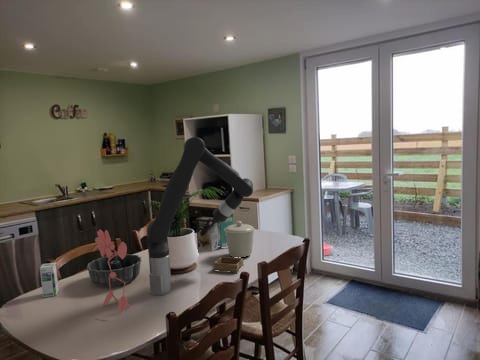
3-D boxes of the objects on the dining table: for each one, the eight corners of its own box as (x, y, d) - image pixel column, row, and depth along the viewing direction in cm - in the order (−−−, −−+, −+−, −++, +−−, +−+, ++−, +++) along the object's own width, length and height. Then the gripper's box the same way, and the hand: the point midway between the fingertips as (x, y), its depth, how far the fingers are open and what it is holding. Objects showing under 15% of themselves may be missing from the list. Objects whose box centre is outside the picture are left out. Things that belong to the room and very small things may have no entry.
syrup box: (42, 297, 167) (39, 267, 165) (45, 292, 172) (42, 263, 170) (56, 296, 168) (53, 265, 166) (58, 291, 174) (55, 261, 172)
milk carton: (216, 245, 237) (214, 208, 234) (228, 243, 241) (227, 206, 238) (221, 249, 229) (219, 210, 226) (234, 246, 233) (232, 208, 230)
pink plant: (109, 296, 165) (101, 221, 160) (143, 312, 149) (135, 229, 144) (76, 310, 153) (66, 230, 148) (109, 329, 137) (100, 239, 132)
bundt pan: (98, 272, 196) (96, 254, 195) (147, 269, 198) (145, 251, 197) (80, 293, 170) (78, 272, 169) (137, 289, 172) (135, 269, 171)
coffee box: (197, 249, 185) (195, 218, 183) (203, 246, 190) (202, 216, 188) (212, 251, 180) (210, 219, 179) (218, 247, 186) (217, 217, 184)
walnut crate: (237, 273, 187) (236, 265, 186) (214, 271, 191) (213, 263, 191) (243, 266, 197) (243, 258, 196) (221, 264, 201) (221, 256, 200)
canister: (256, 260, 206) (254, 224, 203) (224, 261, 206) (222, 225, 204) (255, 250, 224) (254, 217, 221) (226, 251, 224) (224, 218, 222)
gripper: (224, 202, 187) (205, 224, 192) (213, 208, 174) (193, 230, 179) (234, 213, 186) (214, 234, 191) (224, 219, 172) (203, 241, 178)
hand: (204, 232), depth 185 cm, fingers closed on coffee box, 7 cm apart
